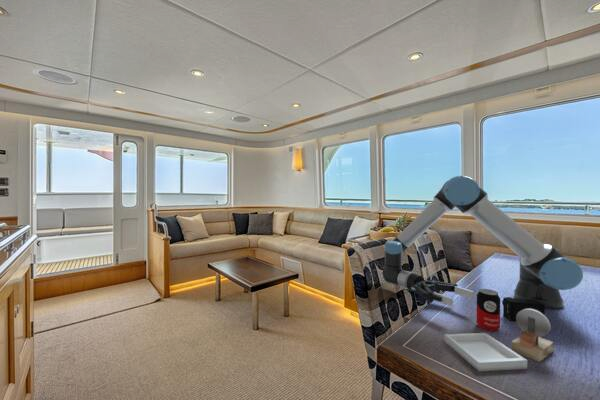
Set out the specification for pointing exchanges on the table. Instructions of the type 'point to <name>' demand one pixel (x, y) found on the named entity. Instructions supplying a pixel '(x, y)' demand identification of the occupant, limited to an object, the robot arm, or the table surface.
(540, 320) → the pulley stand
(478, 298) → the beverage can
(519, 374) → the table surface
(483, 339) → the tray
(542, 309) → the digital camera
